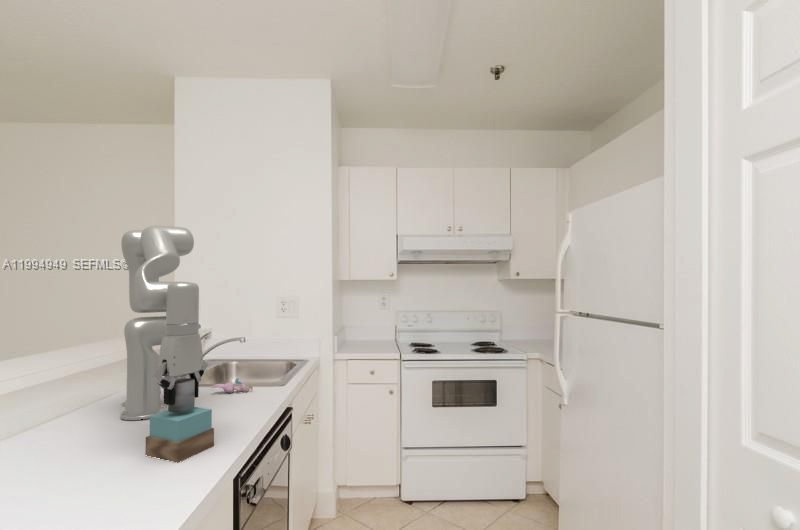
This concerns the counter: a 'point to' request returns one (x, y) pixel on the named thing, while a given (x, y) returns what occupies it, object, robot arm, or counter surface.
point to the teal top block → (180, 424)
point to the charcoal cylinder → (183, 395)
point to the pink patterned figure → (230, 387)
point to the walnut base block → (179, 446)
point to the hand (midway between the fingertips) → (181, 400)
